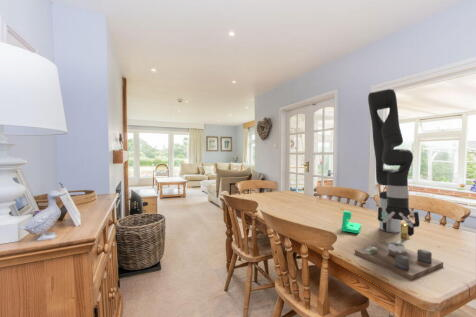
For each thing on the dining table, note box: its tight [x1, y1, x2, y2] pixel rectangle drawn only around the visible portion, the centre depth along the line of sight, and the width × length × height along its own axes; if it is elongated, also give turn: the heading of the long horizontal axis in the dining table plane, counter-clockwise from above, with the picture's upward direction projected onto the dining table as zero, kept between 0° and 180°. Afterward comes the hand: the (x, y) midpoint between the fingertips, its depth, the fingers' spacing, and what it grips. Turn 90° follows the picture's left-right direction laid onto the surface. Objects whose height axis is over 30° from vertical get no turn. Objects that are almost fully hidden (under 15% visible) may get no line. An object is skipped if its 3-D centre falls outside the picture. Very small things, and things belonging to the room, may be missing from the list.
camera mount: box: [341, 210, 362, 234], centre depth 117 cm, size 12×8×10 cm, turn 143°
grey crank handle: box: [388, 222, 411, 257], centre depth 88 cm, size 14×5×10 cm, turn 126°
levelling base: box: [354, 241, 444, 281], centre depth 85 cm, size 20×21×5 cm
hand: (397, 233), depth 93 cm, fingers open, 8 cm apart
